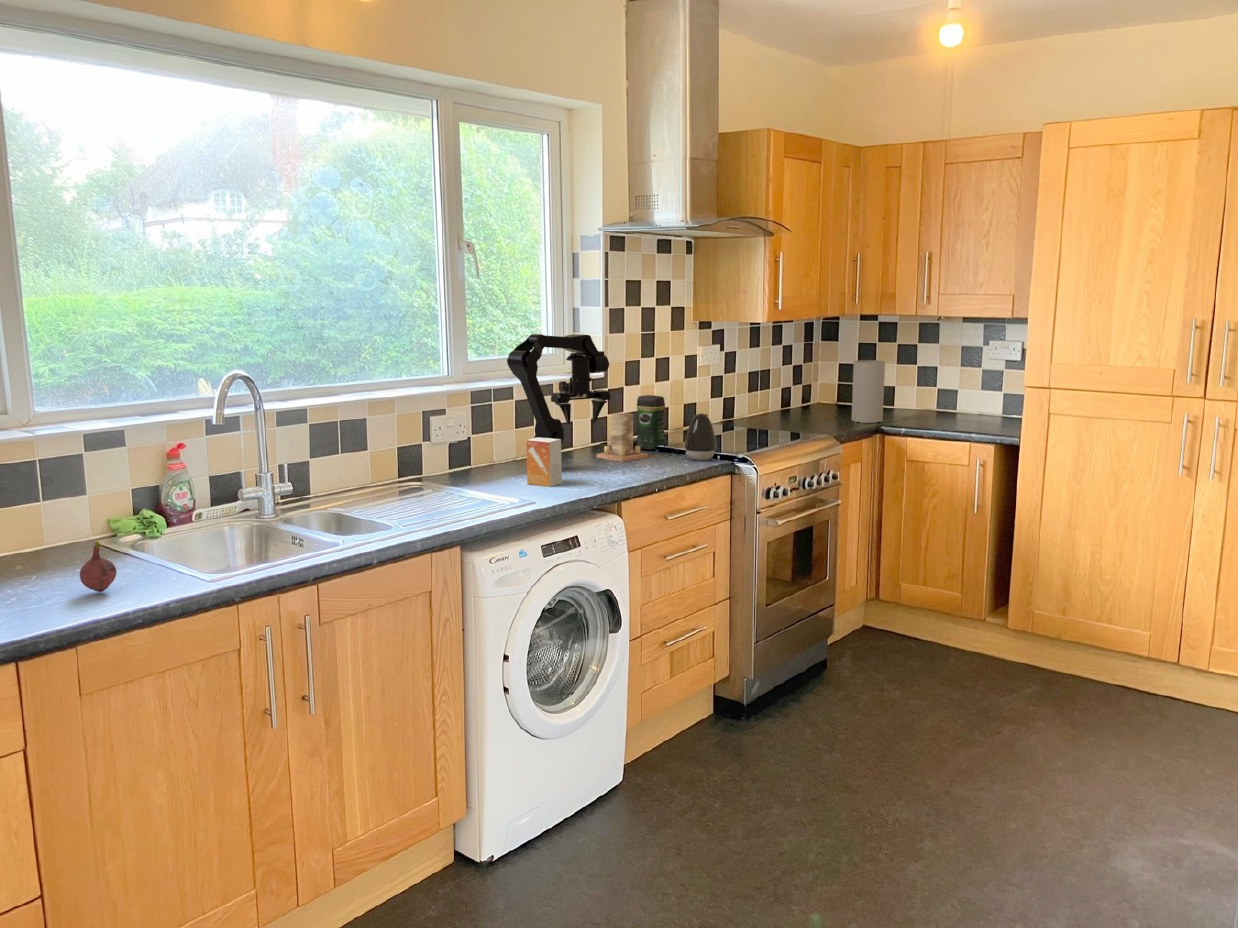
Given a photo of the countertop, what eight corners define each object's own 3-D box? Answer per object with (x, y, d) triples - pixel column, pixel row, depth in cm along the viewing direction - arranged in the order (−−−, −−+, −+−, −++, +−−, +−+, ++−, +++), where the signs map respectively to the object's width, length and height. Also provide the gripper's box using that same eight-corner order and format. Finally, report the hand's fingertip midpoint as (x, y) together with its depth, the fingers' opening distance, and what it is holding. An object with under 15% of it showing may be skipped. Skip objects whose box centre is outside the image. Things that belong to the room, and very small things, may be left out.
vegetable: (103, 599, 178) (97, 546, 176) (73, 597, 179) (67, 545, 177) (125, 589, 184) (120, 538, 182) (96, 587, 185) (91, 536, 183)
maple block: (622, 455, 318) (621, 415, 316) (611, 453, 322) (611, 414, 320) (633, 453, 322) (632, 414, 319) (622, 451, 325) (622, 412, 323)
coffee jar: (668, 447, 341) (668, 395, 338) (656, 450, 335) (656, 397, 331) (645, 445, 347) (645, 393, 343) (633, 448, 340) (633, 395, 337)
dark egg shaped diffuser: (720, 457, 320) (721, 412, 318) (710, 463, 311) (710, 416, 308) (691, 455, 324) (691, 410, 322) (680, 460, 315) (680, 414, 312)
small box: (526, 484, 279) (525, 439, 277) (539, 480, 284) (538, 436, 282) (550, 487, 275) (549, 441, 273) (562, 483, 280) (561, 438, 278)
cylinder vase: (856, 419, 411) (858, 359, 407) (885, 420, 405) (888, 360, 401) (847, 422, 401) (849, 361, 396) (877, 424, 395) (880, 363, 390)
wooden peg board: (622, 461, 314) (622, 450, 313) (596, 457, 322) (596, 446, 322) (647, 457, 322) (647, 446, 321) (622, 453, 331) (622, 442, 330)
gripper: (594, 371, 317) (595, 418, 320) (543, 374, 308) (544, 422, 311) (611, 373, 308) (611, 422, 311) (558, 376, 299) (559, 426, 302)
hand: (581, 423), depth 309 cm, fingers open, 9 cm apart
